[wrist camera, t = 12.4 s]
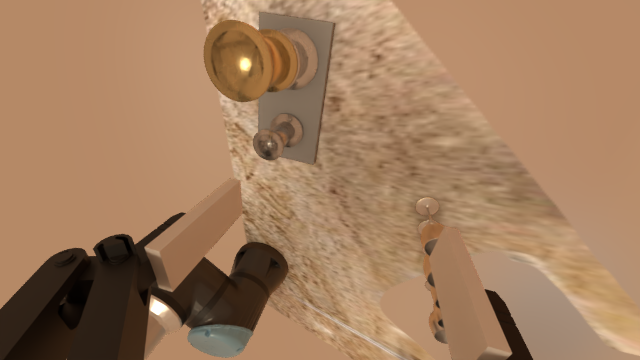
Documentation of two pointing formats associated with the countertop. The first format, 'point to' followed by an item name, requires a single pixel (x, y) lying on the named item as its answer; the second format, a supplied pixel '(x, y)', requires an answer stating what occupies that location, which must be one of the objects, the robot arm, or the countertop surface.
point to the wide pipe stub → (302, 57)
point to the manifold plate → (306, 99)
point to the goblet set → (429, 239)
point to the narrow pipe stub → (278, 136)
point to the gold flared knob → (249, 60)
